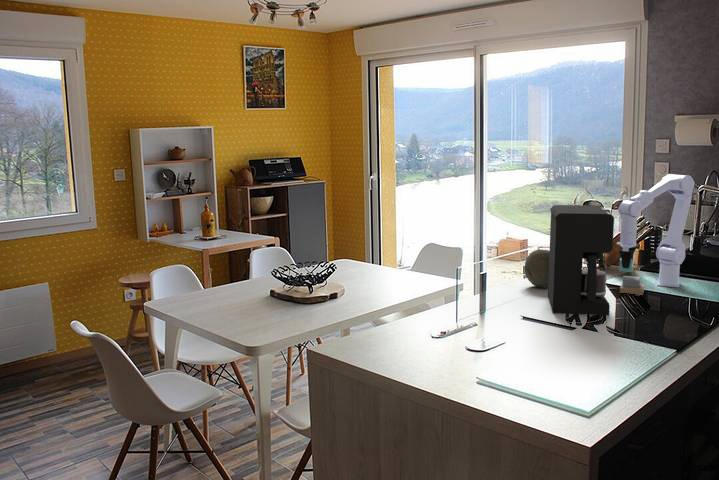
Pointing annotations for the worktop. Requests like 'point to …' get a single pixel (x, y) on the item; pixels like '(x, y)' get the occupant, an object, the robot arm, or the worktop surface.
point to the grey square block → (631, 282)
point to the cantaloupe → (538, 268)
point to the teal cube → (626, 268)
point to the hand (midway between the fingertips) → (626, 266)
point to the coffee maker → (578, 258)
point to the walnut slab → (632, 290)
